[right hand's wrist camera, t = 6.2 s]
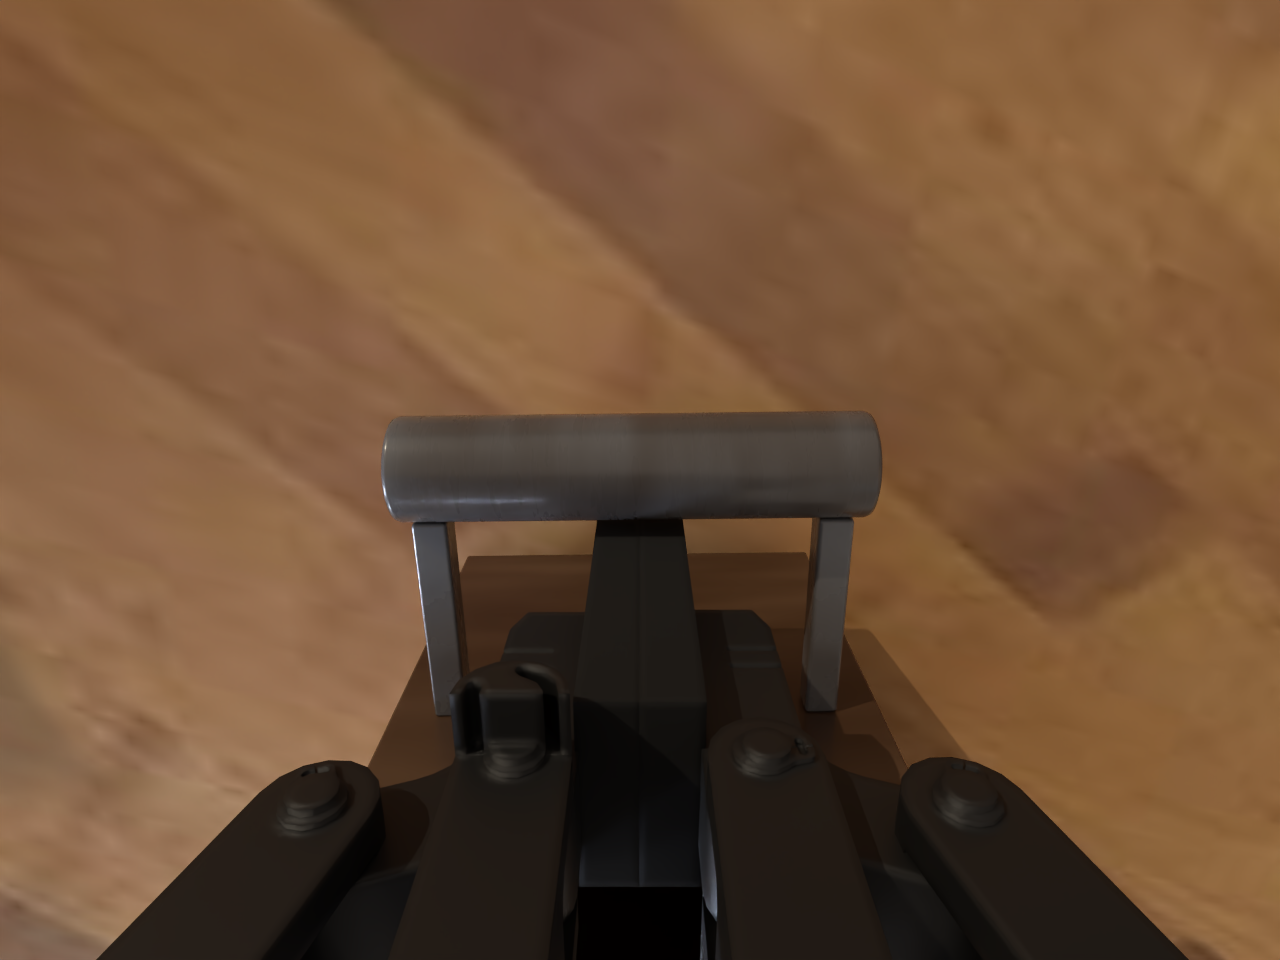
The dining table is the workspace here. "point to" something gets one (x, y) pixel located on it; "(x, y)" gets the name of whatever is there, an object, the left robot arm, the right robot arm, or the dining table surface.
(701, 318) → the dining table surface
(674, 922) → the drawer
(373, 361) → the dining table surface
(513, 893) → the right robot arm
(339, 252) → the dining table surface
